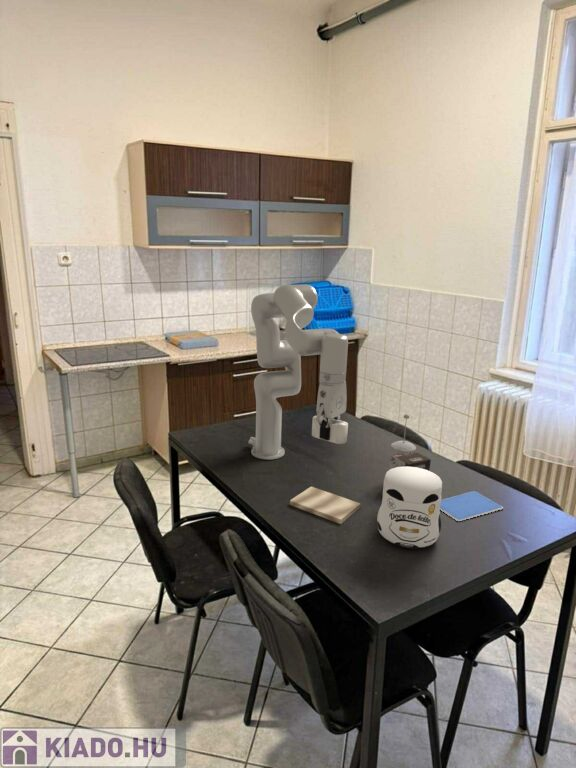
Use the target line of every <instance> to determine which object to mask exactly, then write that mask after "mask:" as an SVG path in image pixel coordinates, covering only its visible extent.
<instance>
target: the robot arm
mask: <svg viewBox="0 0 576 768" xmlns="http://www.w3.org/2000/svg"><path fill="white" fill-rule="evenodd" d="M318 300H319V299H318V293H317V291H316V289H315V287H313V286H312V285H310V284H283V285H281V286H278V288H276V289H275V291H274V292H273V293H272V292H271V293H270V292H269V293H261V294H258V295H255V296H254V298H253V299H252V301H251V303H250V313H251V317H252V322H253V325H254V328H255V333H256V334H255V335H256V336H255V339H256V343H255V344H256V356H257V357H256V359H257V363H258V366H260V367H261V368H263V369H274V368H284V369H285V370H273V371H264V372H261V373H258V374H257V375H256V376H255V378H254V381H253V387H254V395H255V437H254V436H250V437H249V440H248V444H250V445H252V448H251V451H250V452H251V455H252V456H253V457H255V458H257V459H260V460H277V459H280V458H282V457H283V456H284V455H285V448H283V447H282V419H283V415H282V414H283V409H282V405H281V404H280V403H279V402H278V400H277V398H281V397H290V396H295V395H298V394H299V393H300V391H301V388H302V359H301V357H303V356H305V357H306V356H315V355H317V356H318V355H320V362H319V380H318V381H319V386H318V391H317V398H316V416H317V417H316V421H317V422H318V423H319V426H320V435H319V437H320V438H321V439H320V440H322V439H324V440H323V441H326V440H330V427H329V424H330V419H332V418H333V419H337V420H341V416H342V415H343V414H344V413H346V411H347V401H348V400H347V399H348V398H347V396H348V394H347V393H348V392H347V380H346V378H347V363H348V349H349V348H348V347H349V339H348V336H347V335H344V334H341V333H339V332H338V331H337V330H335V329H333V328H314V329H313V328H311V329H304V328H306V327H307V326H308V325H309V324H310V323H311V322H312V320H313V318H314V314H315V313H314V309H315V308H316V306H317V304H318ZM281 318H285V319H286V322H285V326H284V332H285V333H284V334H285V339H286V340H281V329H280V327H279V325H278V323H277V322H276V320H275V319H281ZM324 418H325V419H327V421H325V420H324Z"/></svg>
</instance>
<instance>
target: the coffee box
mask: <svg viewBox="0 0 576 768" xmlns="http://www.w3.org/2000/svg"><path fill="white" fill-rule="evenodd" d="M407 454H408V455H402V456H397V457H396V458H395V461H394V462H395V467H394V468H396V467H406V466H408V467H417V468H421V469H425V470H428V471H431V469H430V468H431V462H432V459H430V458H429V457H427V456H425V455H423V454H421V453H419V452H415V453H414V452H413V453H411V454H410V453H407Z"/></svg>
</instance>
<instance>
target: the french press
mask: <svg viewBox="0 0 576 768" xmlns="http://www.w3.org/2000/svg"><path fill="white" fill-rule="evenodd" d="M403 418H404V419H405V421H407V419H410V415H409V414H408V413H407V414H406V413H405V414H403ZM406 429H407V423H405V426H404V431H406ZM405 438H406V432H404V435H403V440H397V441H394V442H392V443H391V448H392V449H393V450H394V451H397V452H399V453H394V454H391V458H390V460H389V470H390V469H392V468H394V467H395V458H396V457H397V456H402V455H408V454H412V452H413V453H416V452H415V451H416V449H417V446H416V445H414V444H413V443H412V442H410V441H406V439H405ZM389 470H388V471H389Z"/></svg>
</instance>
